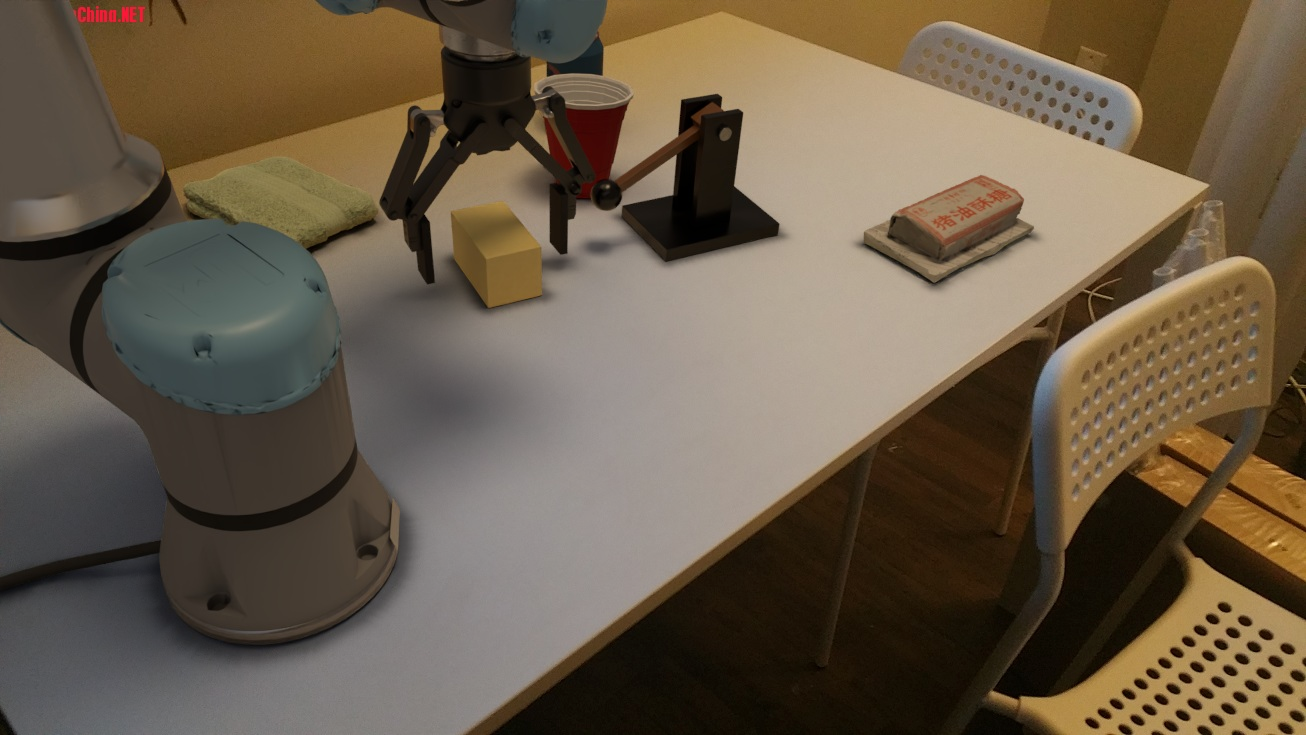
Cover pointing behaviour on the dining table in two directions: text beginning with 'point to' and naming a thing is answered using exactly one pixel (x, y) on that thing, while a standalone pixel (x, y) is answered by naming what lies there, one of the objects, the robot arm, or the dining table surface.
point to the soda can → (581, 62)
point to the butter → (496, 253)
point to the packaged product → (952, 227)
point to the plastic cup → (589, 119)
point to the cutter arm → (646, 165)
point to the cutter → (702, 192)
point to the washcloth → (282, 200)
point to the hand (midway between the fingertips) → (494, 262)
